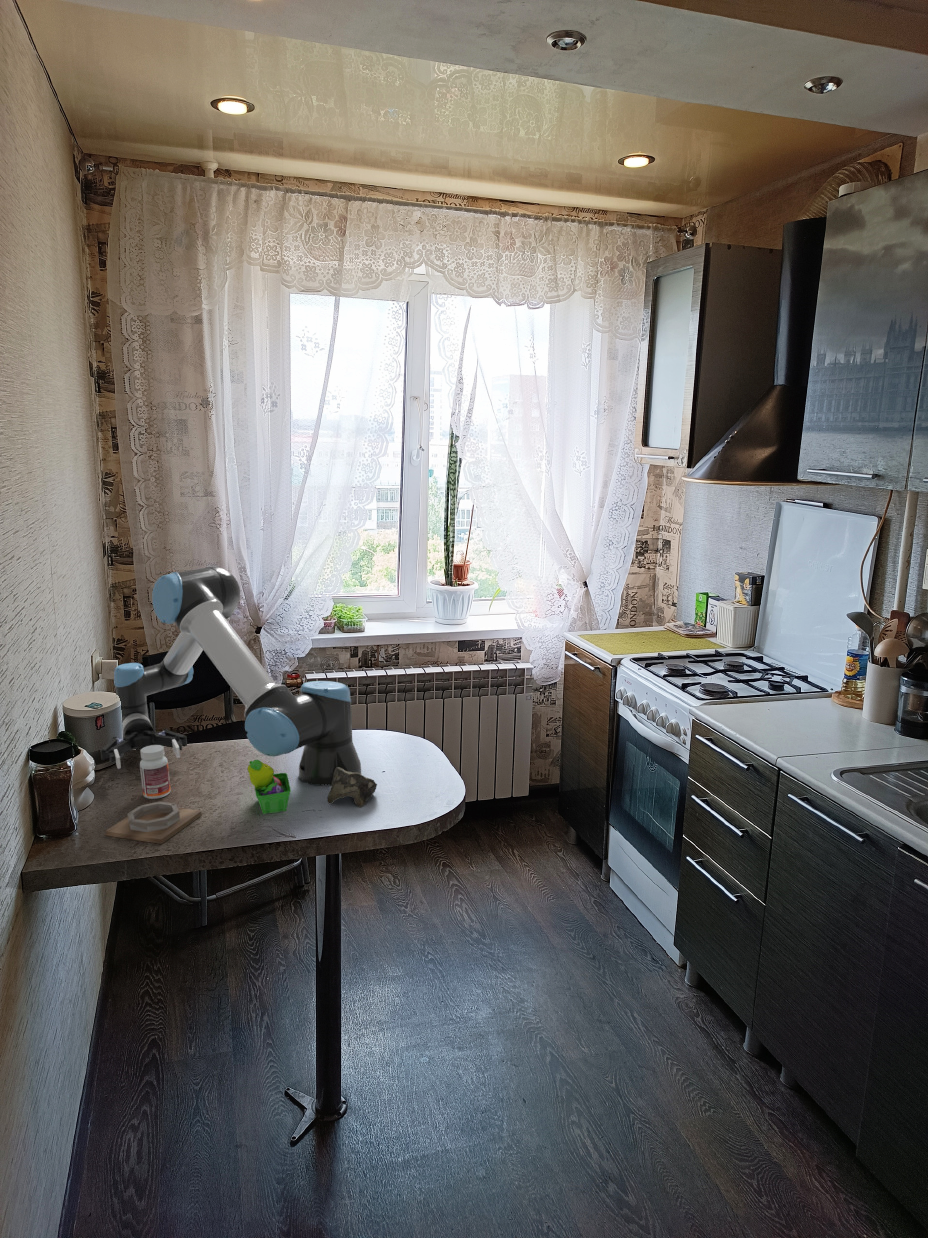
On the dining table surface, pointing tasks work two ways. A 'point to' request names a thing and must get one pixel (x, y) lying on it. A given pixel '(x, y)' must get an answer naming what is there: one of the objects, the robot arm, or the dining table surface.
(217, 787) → the dining table surface
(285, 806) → the fruit basket
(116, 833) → the carrier plate
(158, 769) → the pill bottle
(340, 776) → the fossil
